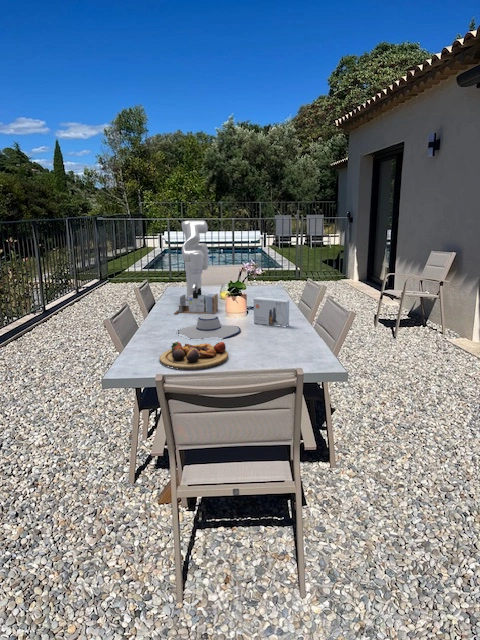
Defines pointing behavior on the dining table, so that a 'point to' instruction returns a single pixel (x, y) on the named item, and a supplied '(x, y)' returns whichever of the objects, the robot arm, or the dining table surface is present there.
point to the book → (209, 303)
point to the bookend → (182, 304)
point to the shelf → (214, 309)
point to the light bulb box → (197, 303)
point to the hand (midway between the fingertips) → (197, 296)
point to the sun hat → (209, 329)
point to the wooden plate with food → (194, 356)
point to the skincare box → (271, 311)
